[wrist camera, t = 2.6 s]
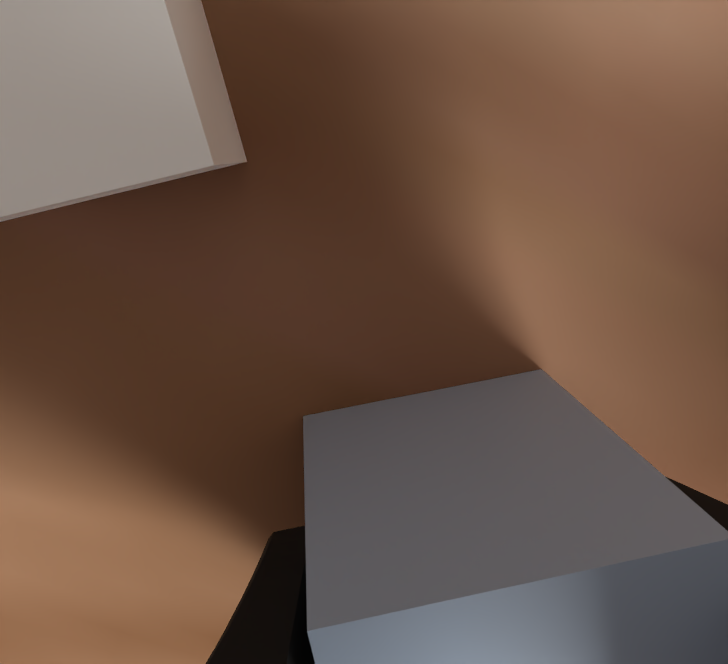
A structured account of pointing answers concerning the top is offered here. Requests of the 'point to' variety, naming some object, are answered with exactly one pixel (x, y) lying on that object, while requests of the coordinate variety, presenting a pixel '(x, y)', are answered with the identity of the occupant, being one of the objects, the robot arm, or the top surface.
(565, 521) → the slate cube
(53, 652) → the top surface
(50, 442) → the top surface
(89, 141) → the white block
